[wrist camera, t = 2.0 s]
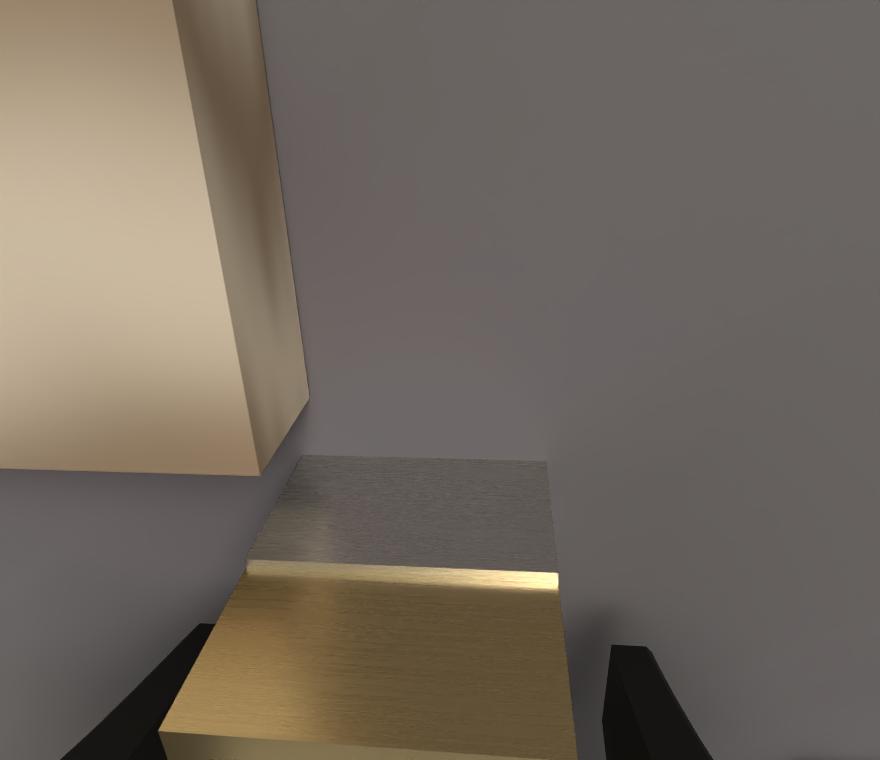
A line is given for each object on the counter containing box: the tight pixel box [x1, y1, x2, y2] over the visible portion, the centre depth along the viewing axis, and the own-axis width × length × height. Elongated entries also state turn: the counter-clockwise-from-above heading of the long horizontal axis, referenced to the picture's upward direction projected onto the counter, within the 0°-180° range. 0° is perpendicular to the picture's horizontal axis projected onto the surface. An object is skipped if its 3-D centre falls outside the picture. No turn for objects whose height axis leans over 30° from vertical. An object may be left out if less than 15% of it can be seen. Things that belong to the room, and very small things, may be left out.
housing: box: [158, 455, 578, 760], centre depth 11 cm, size 8×5×6 cm, turn 1°
